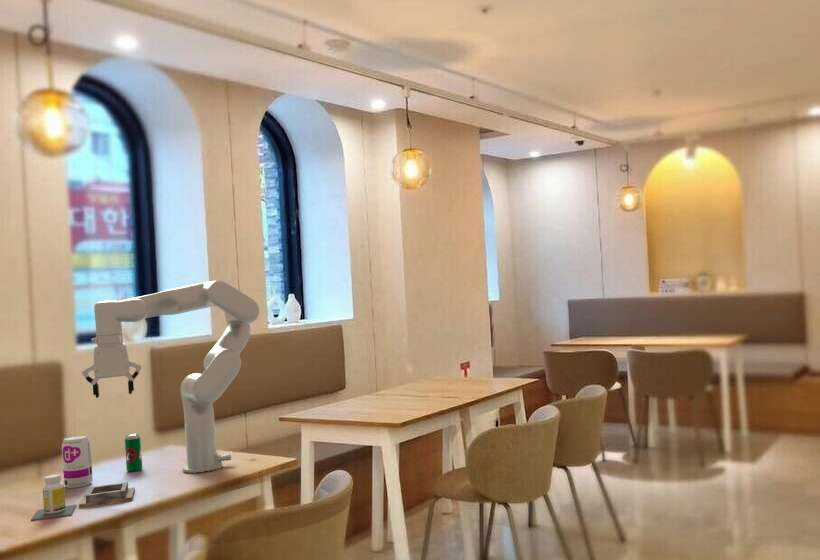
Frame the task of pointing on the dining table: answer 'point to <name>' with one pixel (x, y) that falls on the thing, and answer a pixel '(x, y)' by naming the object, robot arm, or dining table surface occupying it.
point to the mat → (41, 515)
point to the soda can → (133, 453)
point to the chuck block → (107, 494)
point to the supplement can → (77, 461)
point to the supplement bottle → (53, 495)
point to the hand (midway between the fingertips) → (114, 395)
